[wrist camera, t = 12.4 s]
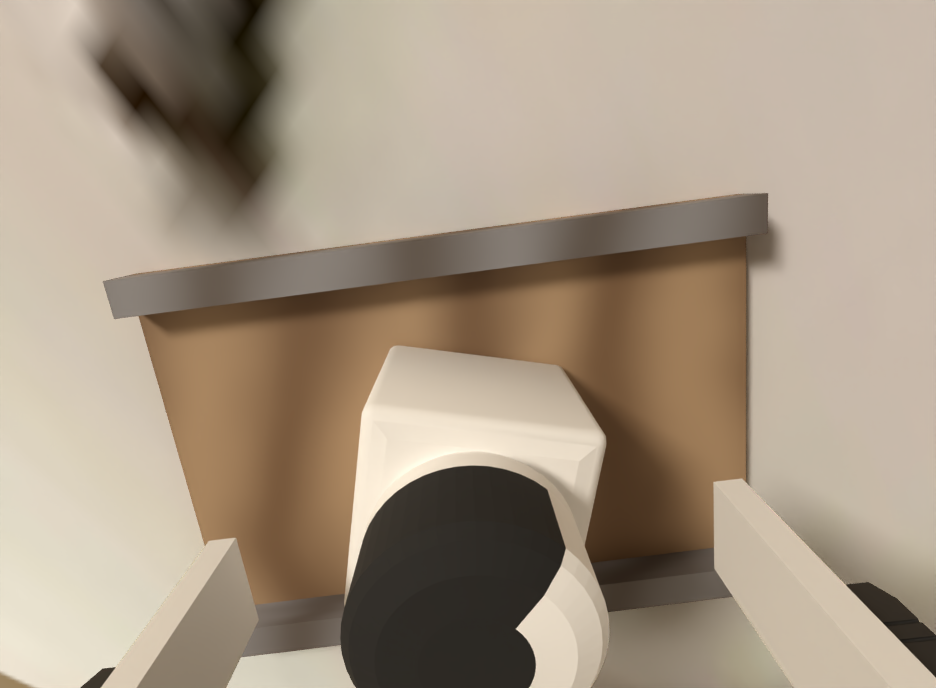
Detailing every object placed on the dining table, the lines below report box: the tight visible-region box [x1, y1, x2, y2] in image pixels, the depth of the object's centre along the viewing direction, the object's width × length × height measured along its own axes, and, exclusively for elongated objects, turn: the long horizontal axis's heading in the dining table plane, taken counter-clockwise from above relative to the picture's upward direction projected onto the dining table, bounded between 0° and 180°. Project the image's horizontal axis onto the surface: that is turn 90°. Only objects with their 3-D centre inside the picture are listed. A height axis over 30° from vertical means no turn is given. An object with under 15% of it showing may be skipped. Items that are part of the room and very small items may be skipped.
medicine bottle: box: [340, 345, 610, 688], centre depth 17 cm, size 7×7×12 cm
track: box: [103, 193, 768, 657], centre depth 23 cm, size 24×17×2 cm
